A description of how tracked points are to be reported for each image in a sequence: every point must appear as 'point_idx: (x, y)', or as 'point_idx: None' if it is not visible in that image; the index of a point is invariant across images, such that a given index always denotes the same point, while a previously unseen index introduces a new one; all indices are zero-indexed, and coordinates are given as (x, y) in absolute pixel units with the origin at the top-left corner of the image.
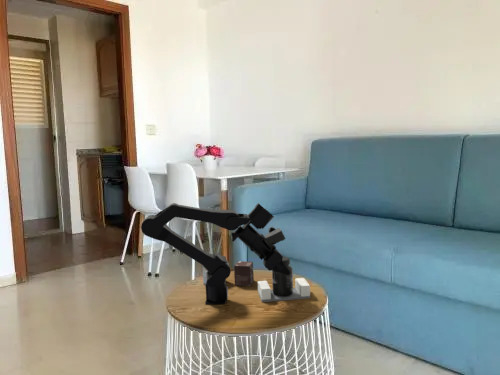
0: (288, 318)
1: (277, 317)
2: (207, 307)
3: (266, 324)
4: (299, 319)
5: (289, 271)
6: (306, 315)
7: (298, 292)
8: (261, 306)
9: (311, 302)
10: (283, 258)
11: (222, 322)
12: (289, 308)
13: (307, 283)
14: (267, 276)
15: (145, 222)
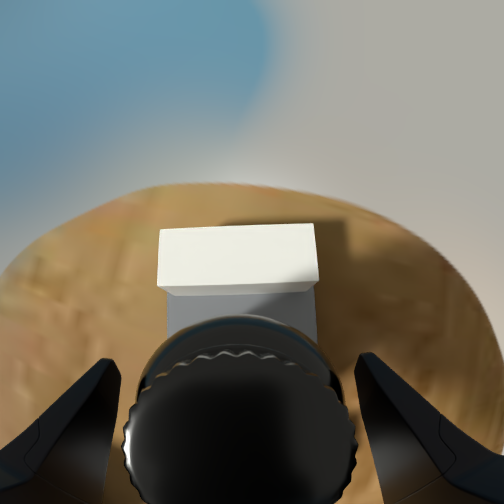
0: (476, 366)
1: (464, 405)
2: None
3: (490, 430)
4: (485, 328)
5: (383, 364)
6: (465, 299)
7: (248, 294)
8: (362, 475)
9: (358, 254)
10: (238, 452)
11: None
12: (408, 362)
13: (273, 228)
14: (4, 370)
15: None
